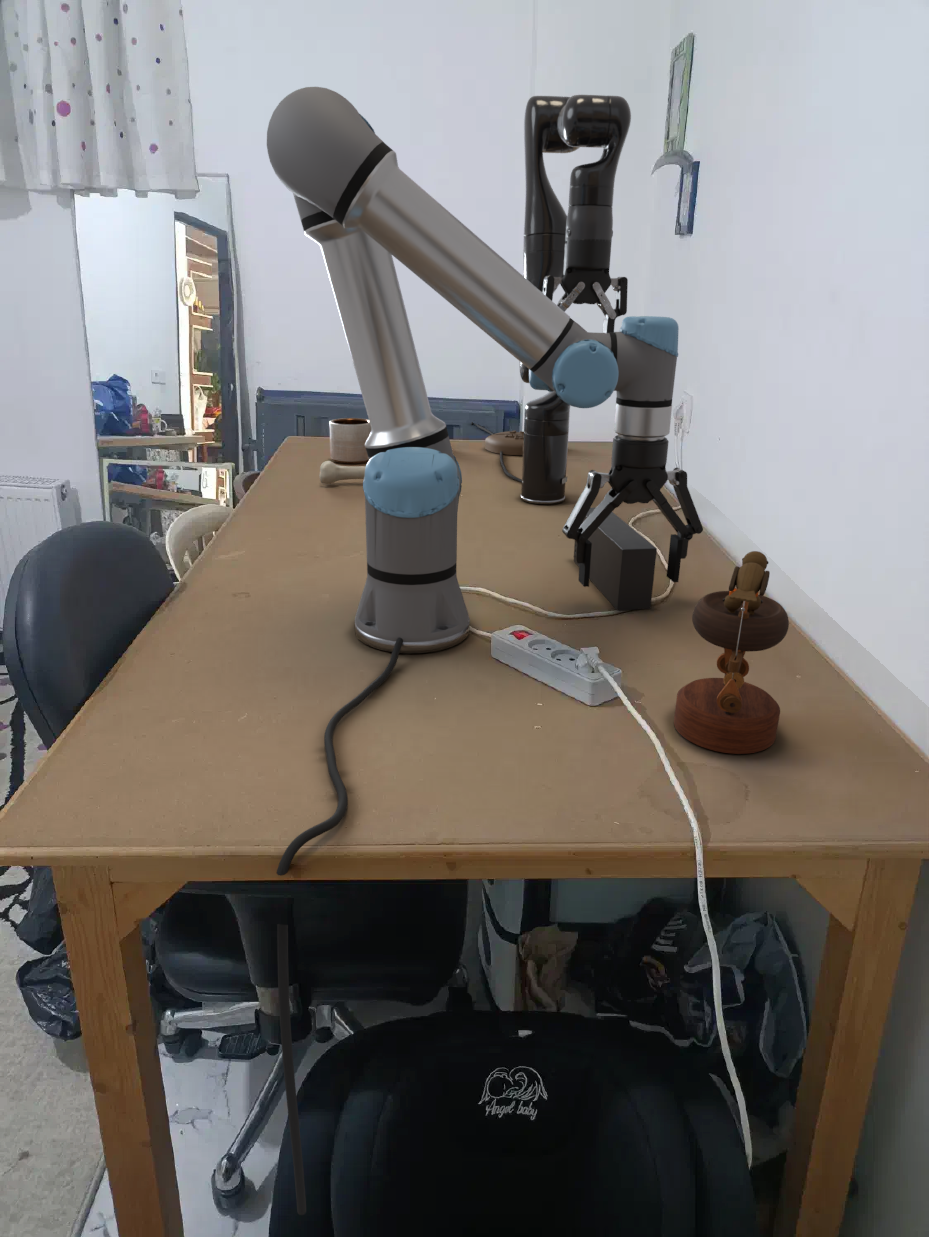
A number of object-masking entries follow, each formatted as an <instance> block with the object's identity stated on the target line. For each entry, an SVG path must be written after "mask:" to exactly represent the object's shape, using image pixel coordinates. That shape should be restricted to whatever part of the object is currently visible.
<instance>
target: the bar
mask: <svg viewBox="0 0 929 1237" xmlns="http://www.w3.org/2000/svg"><path fill="white" fill-rule="evenodd" d="M596 507H597V506H595V507H594V506H593V507H590V509H589V511H588V513H587V515H586V517H585V518H584V520H583V522H584V521H585V520H586V519H587V517H588V516H589V515H590V514H591V513H592V512H593V511H594V510H595V508H596ZM583 522H582V523H583ZM588 540H589V541H590V542H591V543H592V548H591V562H590V577H589V581H591V583H593V585H594V586H595V587H596V588H597V590H598V591H599V592H600V593H601V594H602V595H603V596H604V597H605V599H607V601H608V602H609V603H610V604H611V605H612V607H614V609H615V610H616V611H635V610H651V606H652V598H653V589H654V580H655V579H654V578H655V571H656V570H655V569H656V562H657V560H656V559H657V551H658V549H657V547H655V546H654V545H653V544H652V543H651V542H650V541H649V540H647V539H646V538H645V537H644V536H642V534H640V533H639V532H638V531H636V530H635V529H634V528H633V527H632V526H630V525H629V524H628V523H626V522H625V521H624V520H623V519H622V518H620V517H619V516H618V515H617V514H615V513H614V511H612V512H611V514H610V515H609V516H608V517H607V518H606V519H605V520H604V521H603V523H602V524H601V525H600V526H599V527H598V528H597V529H596V530H595V532H594V533H593V534H592V535H591V536H590V537H589V538H588ZM573 562H574V563H575V564H576V565H577V566H578V567H579V565H580V563H577V562H576V561H575V559H574V558H573Z"/></svg>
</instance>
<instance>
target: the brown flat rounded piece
mask: <svg viewBox="0 0 929 1237" xmlns="http://www.w3.org/2000/svg"><path fill="white" fill-rule="evenodd" d="M523 443H524V431H522V430H520V431H517V430H512V431H511V430H509V431H501V432H497V433H493V434H492V435H491V434H489V435H488V436H487V437H486V438H485V439H484V449H485V450H487V451H488V452H491V453H493V454H499V455H500V452H501V451H502V452H503V455H508V456H523Z"/></svg>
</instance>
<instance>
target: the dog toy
mask: <svg viewBox="0 0 929 1237" xmlns="http://www.w3.org/2000/svg"><path fill="white" fill-rule="evenodd" d="M365 467H366V465H364V466H361V465H360V466H359V465H358V466H357V465H356V466H355V465H354V466H353V465H352V466H345V465H339V464H336V463H334V461H331V460H326V461H323V462H322V463H321V465H320V466H319V475H318V477H319V482H320V483H321V484H324V485H325V484H326V485H331V484H334V483H335V482H337V481H338V482H339V481H347V480H364V477H365Z"/></svg>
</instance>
